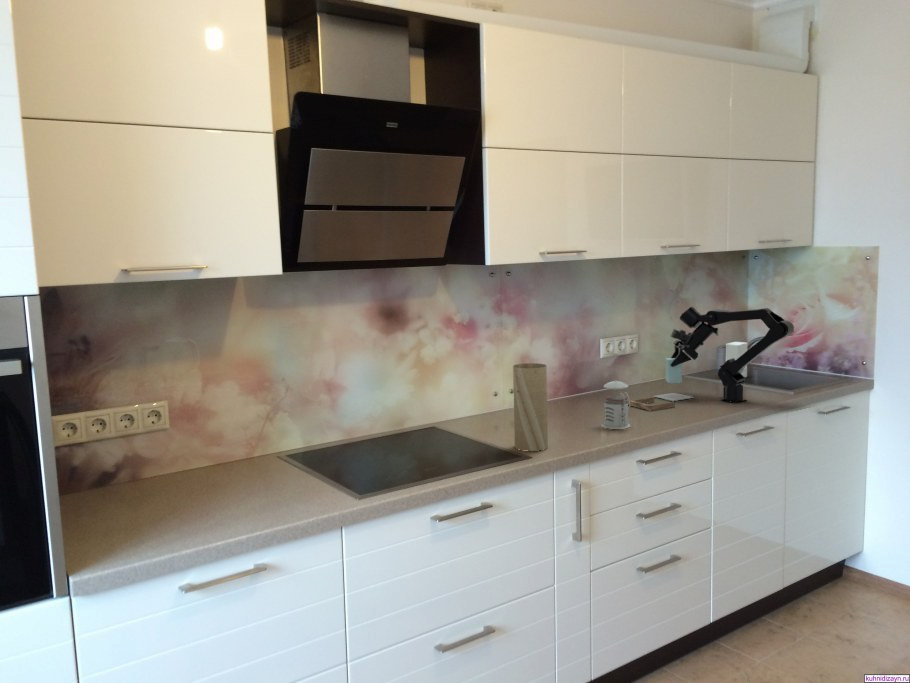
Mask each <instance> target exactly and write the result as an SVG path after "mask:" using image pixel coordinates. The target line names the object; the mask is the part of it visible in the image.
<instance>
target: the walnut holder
mask: <svg viewBox="0 0 910 683" xmlns="http://www.w3.org/2000/svg"><path fill="white" fill-rule="evenodd" d="M629 400H630V405H631V406H635V407H638V408H637V409H639V408H642V409H641V410H643V409H646V410H645V411H647V410H649V411H648V412H652V411H651V410H655V411H659V410H658V409H661V410H665V409H664V408H667V409H672V408H671V407H674V408H676V402H670V401H667V402H661V403H655V398H654V397H653V396H649V397H643V398H637V399H636V398H635V399H628V400H627V402H628V405H629ZM647 402H654V404H649V403H647ZM643 403H647V404H643ZM631 406H630V407H631ZM635 407H634V408H635Z"/></svg>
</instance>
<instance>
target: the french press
mask: <svg viewBox="0 0 910 683" xmlns="http://www.w3.org/2000/svg"><path fill="white" fill-rule="evenodd" d="M612 356H614V357H618V356H620V353H619V352H618V351H615V352H613V353H612ZM603 388H605V389H608V390H615V395H607V396H605V401H604V408H603V409H604V421H603V423H602V425H601V427H602V426H603V427H606V428H610V429H609V430H611V429H624V428H628V427H630V425H631V424H630V423H629V411H630V407H631V406H630V400H631V399H630V397H629V395H628V392H626V391H624V392H623V393H622V392H619V395H617V390H623V389H624V390H625V389H627V388H629V385H628V384H627V383H626V382H622V381H621V380H620V381H619V380H617V379H615V380H613V381H610V382H606V383H605V384H604V385H603ZM627 399H628V400H629V406H628V400H627ZM603 427H602V428H603ZM606 428H605V429H606ZM624 430H625V429H624Z"/></svg>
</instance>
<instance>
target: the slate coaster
mask: <svg viewBox="0 0 910 683" xmlns="http://www.w3.org/2000/svg"><path fill="white" fill-rule="evenodd" d="M652 397H658V398H662V399H665V400H664V401H666V400H670V401H676V402H679V401H678V400H683V401H685V400H684V399H689V400H691V399H690V398H694V399H695V396H691V395H685V394H681V393H677V392H672V393H671V392H669V393H664V394H658V395H653V396H652ZM662 399H661V400H662ZM670 401H669V402H670Z"/></svg>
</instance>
